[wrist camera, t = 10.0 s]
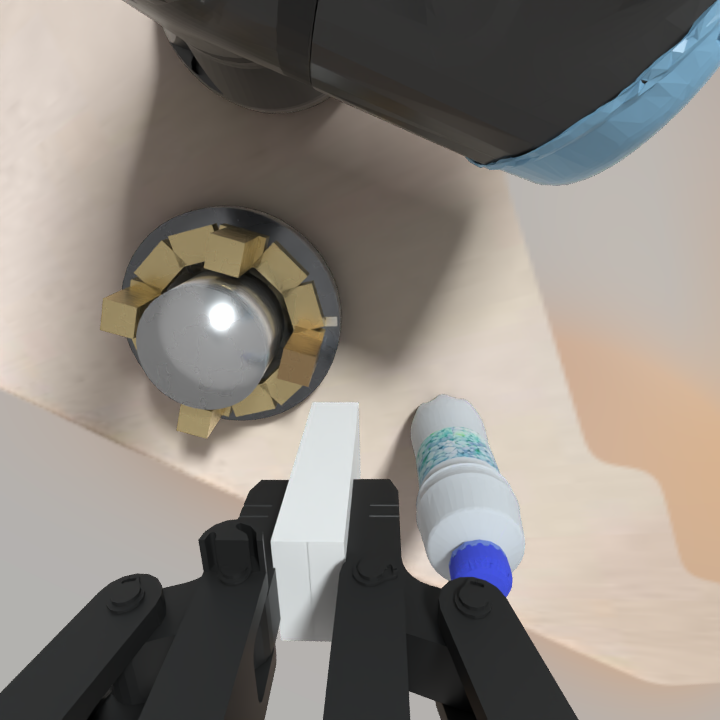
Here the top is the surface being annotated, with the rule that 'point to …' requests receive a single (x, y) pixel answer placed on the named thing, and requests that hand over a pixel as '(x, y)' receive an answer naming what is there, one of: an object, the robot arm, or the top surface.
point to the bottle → (464, 496)
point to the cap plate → (291, 247)
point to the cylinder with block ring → (235, 257)
